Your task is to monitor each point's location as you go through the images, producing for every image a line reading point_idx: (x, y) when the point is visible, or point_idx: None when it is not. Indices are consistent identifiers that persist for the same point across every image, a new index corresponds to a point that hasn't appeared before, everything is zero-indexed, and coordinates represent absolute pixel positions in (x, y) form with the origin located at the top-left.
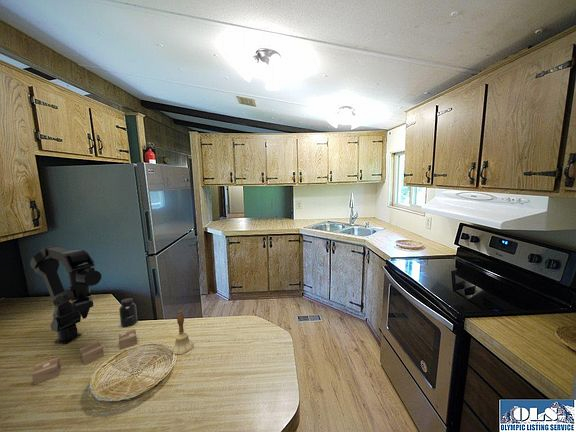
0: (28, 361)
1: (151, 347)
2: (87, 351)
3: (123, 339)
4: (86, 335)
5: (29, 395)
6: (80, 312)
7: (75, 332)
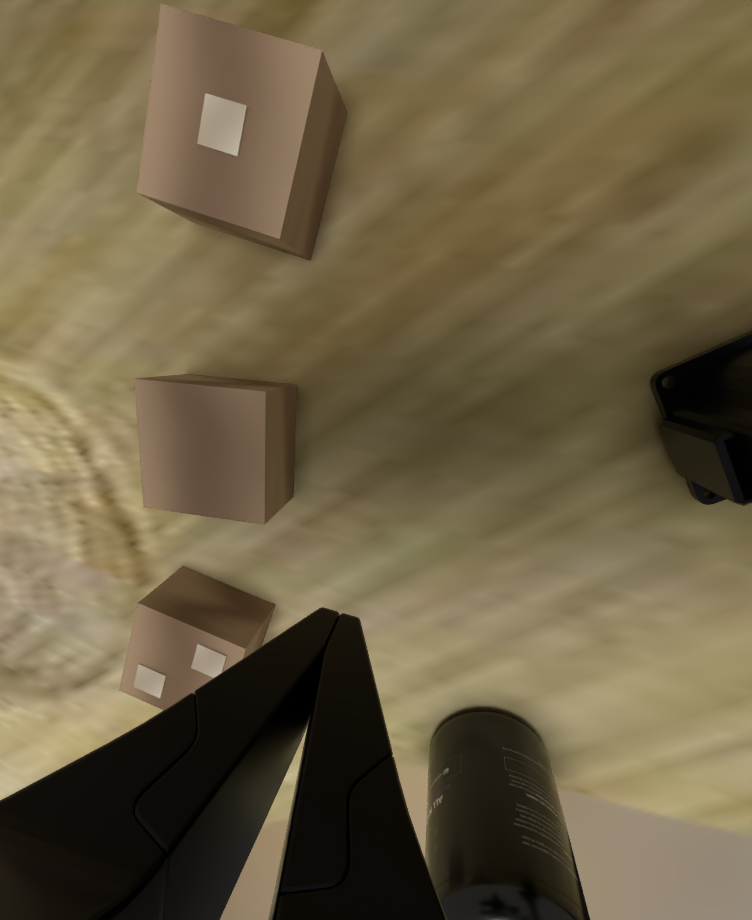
0: (669, 61)
1: (63, 660)
2: (171, 420)
3: (133, 627)
4: (635, 520)
5: (107, 36)
6: (180, 707)
7: (701, 470)
